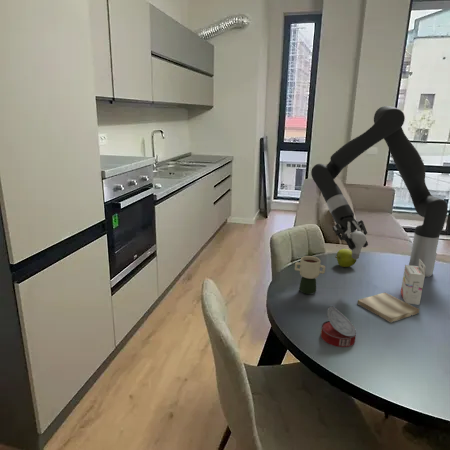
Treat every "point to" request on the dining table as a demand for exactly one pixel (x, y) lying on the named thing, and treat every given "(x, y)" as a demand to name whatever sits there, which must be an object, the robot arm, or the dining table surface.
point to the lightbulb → (357, 243)
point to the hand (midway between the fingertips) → (359, 247)
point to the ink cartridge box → (413, 283)
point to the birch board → (388, 307)
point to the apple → (345, 258)
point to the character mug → (309, 273)
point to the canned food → (338, 329)
